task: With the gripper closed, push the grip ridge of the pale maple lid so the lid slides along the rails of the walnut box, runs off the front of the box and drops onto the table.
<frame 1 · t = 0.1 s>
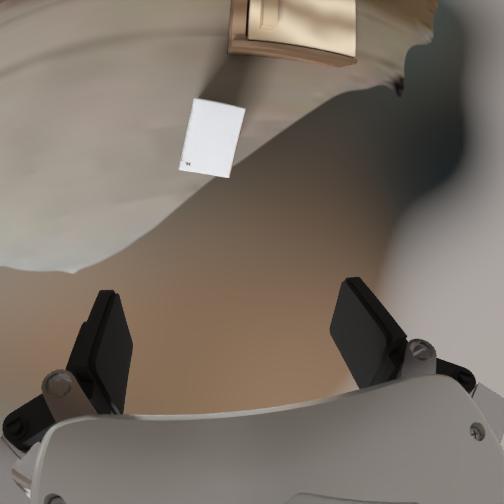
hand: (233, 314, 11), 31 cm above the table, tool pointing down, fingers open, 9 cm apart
walnut box: (286, 20, 29), on the table
small box: (209, 132, 36), on the table
lid: (304, 11, 25), point 5 cm above the table, touching walnut box
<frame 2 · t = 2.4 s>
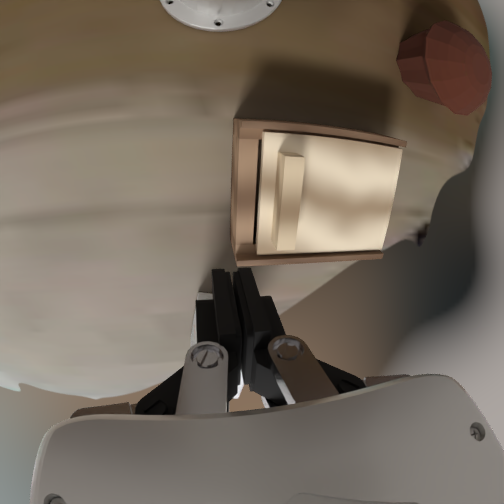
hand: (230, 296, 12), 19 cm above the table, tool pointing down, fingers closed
walnut box: (305, 181, 30), on the table
small box: (214, 315, 37), on the table
lid: (331, 196, 26), point 5 cm above the table, touching walnut box
muffin: (421, 67, 25), on the table
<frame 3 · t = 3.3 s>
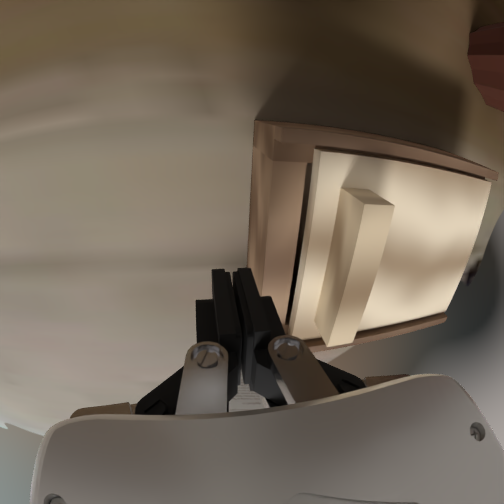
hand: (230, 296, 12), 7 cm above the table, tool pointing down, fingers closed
walnut box: (355, 219, 20), on the table
small box: (222, 382, 27), on the table
lid: (402, 251, 16), point 5 cm above the table, touching walnut box
muffin: (490, 67, 15), on the table
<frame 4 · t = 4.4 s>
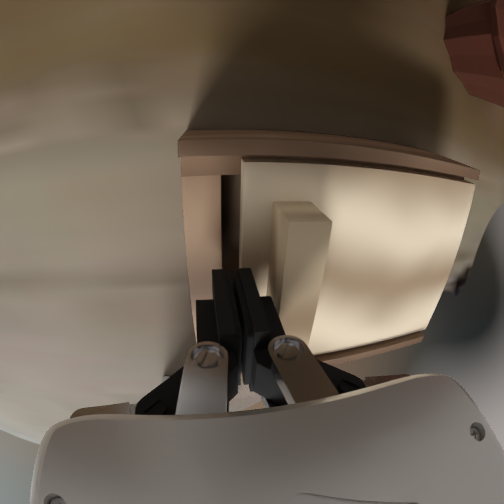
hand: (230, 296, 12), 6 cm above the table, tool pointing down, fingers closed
walnut box: (312, 230, 19), on the table
lid: (365, 267, 15), point 5 cm above the table, touching gripper, walnut box
muffin: (472, 53, 14), on the table
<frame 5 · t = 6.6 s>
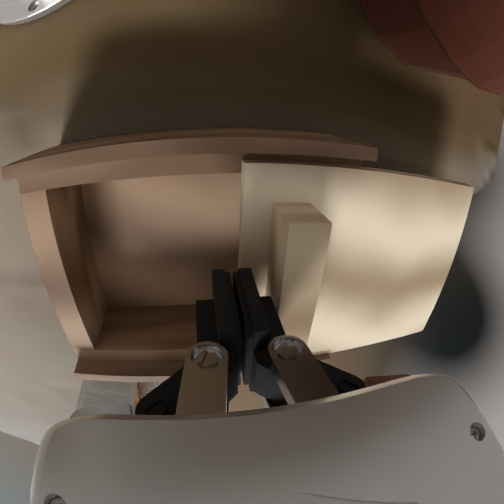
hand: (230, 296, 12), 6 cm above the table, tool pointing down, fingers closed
walnut box: (189, 234, 18), on the table
small box: (115, 395, 25), on the table
lid: (364, 269, 15), point 5 cm above the table, touching gripper, walnut box
muffin: (409, 17, 12), on the table
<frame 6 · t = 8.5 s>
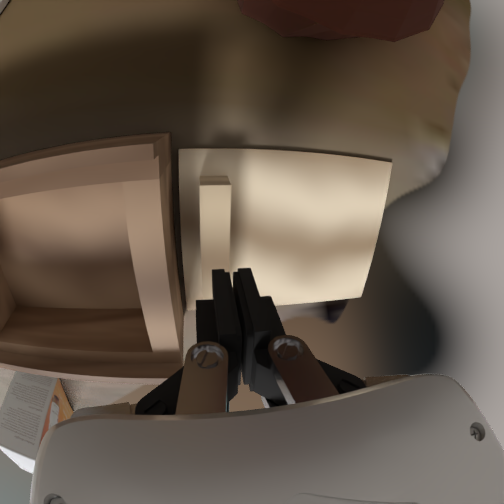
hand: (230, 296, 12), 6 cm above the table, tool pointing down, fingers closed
walnut box: (63, 243, 16), on the table
small box: (47, 388, 23), on the table
lid: (287, 232, 19), on the table
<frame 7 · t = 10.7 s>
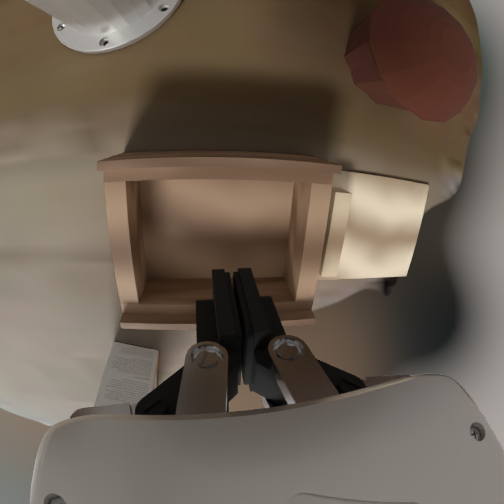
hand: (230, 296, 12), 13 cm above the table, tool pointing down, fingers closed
walnut box: (215, 224, 25), on the table
small box: (136, 365, 31), on the table
lid: (367, 227, 28), on the table
muffin: (383, 64, 20), on the table
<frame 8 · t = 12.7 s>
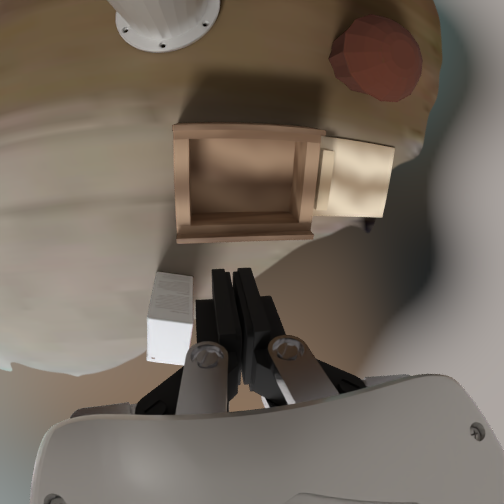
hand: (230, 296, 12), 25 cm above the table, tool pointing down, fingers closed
walnut box: (241, 173, 35), on the table
small box: (172, 293, 42), on the table
lid: (348, 178, 38), on the table
muffin: (357, 62, 30), on the table
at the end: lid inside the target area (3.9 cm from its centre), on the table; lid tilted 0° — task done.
